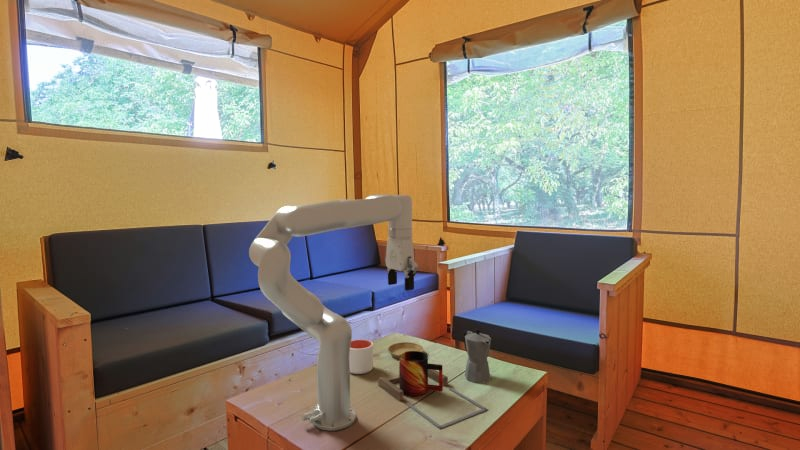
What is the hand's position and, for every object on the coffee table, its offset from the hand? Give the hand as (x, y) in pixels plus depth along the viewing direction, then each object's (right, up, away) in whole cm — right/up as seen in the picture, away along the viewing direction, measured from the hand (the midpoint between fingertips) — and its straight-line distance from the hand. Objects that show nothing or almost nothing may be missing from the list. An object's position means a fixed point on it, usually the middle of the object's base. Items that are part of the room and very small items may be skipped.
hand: (400, 287), depth 137 cm
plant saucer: (+2, -34, +40) cm, 53 cm away
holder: (+4, -36, +12) cm, 38 cm away
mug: (+6, -36, +8) cm, 38 cm away
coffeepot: (+27, -35, +18) cm, 48 cm away
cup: (-15, -35, +25) cm, 46 cm away
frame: (+14, -37, -3) cm, 40 cm away
